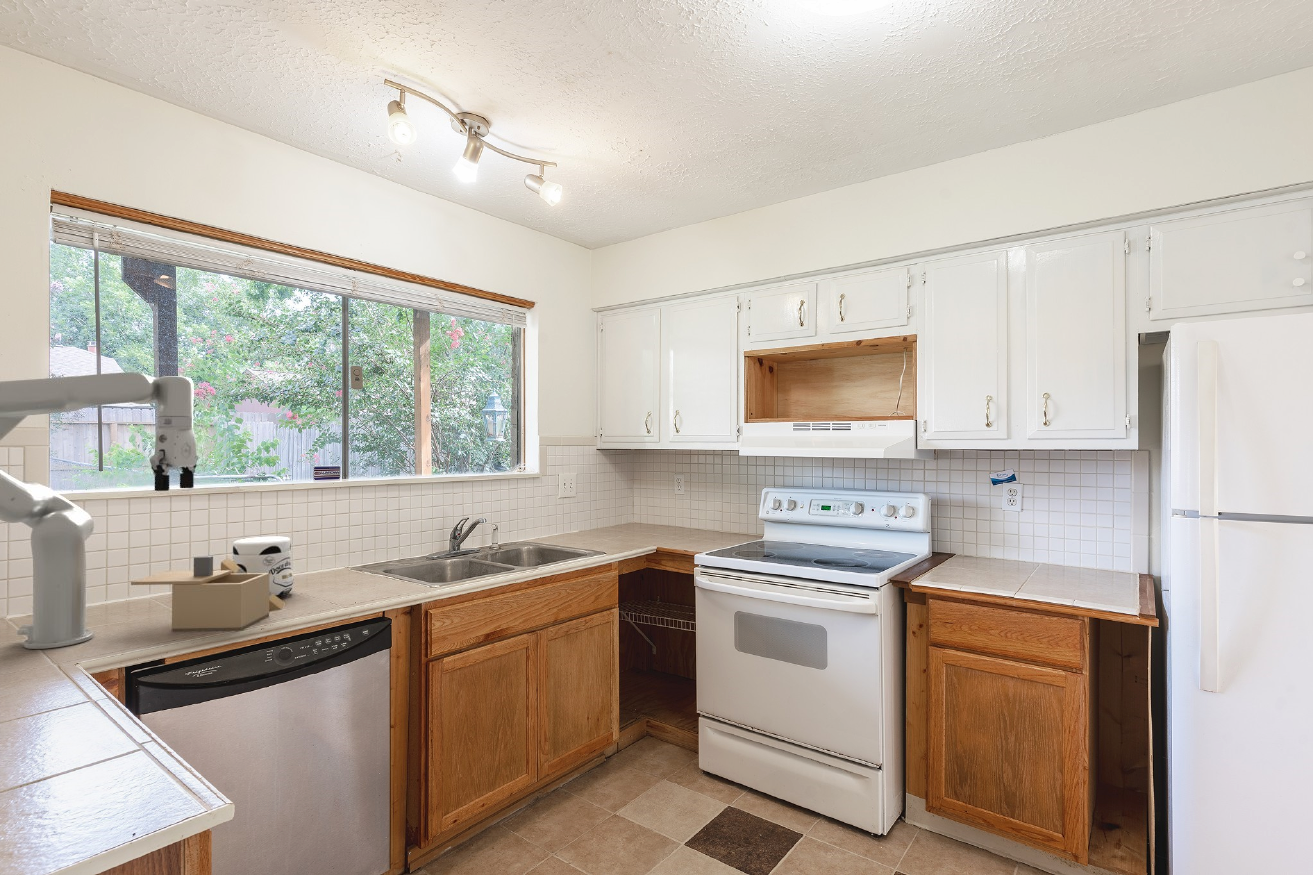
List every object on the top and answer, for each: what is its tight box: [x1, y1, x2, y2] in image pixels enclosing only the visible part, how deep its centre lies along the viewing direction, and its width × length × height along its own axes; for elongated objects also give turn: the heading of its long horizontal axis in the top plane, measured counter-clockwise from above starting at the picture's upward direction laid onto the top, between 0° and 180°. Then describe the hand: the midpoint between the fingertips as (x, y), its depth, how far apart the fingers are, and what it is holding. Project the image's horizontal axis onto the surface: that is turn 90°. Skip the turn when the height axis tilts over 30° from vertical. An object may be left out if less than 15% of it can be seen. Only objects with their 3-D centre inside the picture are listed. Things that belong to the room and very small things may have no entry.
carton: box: [171, 573, 270, 633], centre depth 175 cm, size 17×14×12 cm
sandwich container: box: [220, 557, 286, 611], centre depth 191 cm, size 9×15×15 cm, turn 113°
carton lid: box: [130, 555, 232, 586], centre depth 175 cm, size 17×14×6 cm
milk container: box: [232, 536, 295, 598], centre depth 205 cm, size 17×17×18 cm
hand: (174, 489), depth 171 cm, fingers open, 9 cm apart
